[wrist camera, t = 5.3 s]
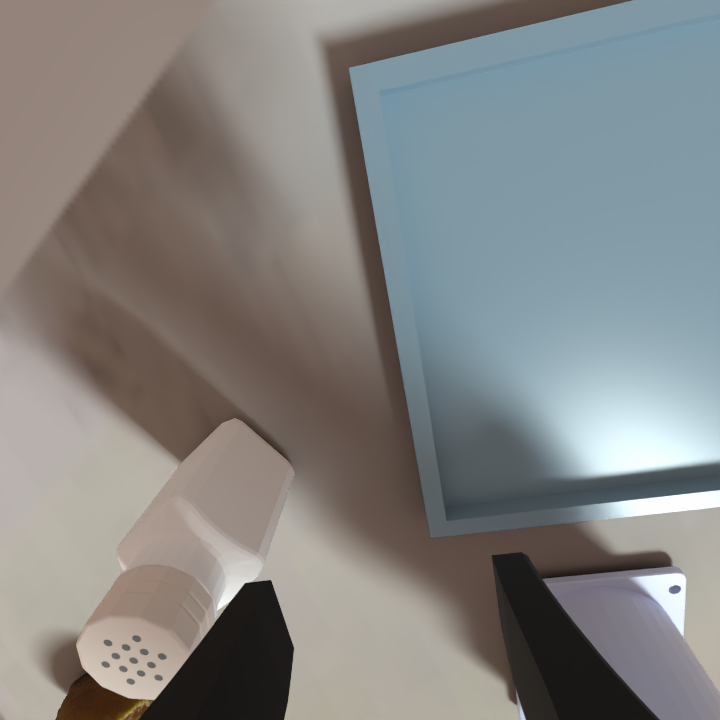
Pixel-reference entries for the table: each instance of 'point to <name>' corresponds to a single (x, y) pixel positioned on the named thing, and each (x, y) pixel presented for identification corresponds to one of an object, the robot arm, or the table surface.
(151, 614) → the pepper shaker
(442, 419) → the tray
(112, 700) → the chicken drumstick
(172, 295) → the table surface
